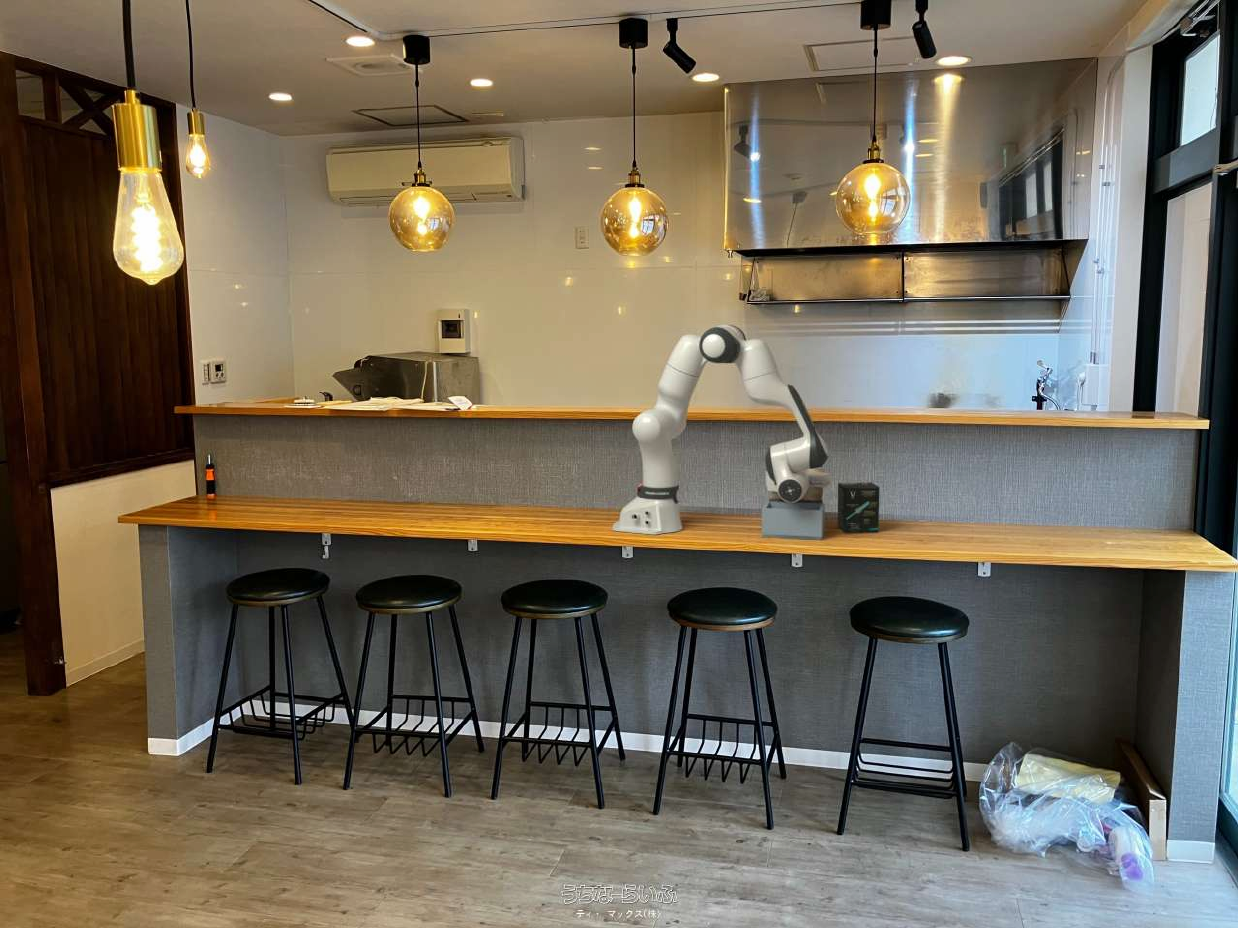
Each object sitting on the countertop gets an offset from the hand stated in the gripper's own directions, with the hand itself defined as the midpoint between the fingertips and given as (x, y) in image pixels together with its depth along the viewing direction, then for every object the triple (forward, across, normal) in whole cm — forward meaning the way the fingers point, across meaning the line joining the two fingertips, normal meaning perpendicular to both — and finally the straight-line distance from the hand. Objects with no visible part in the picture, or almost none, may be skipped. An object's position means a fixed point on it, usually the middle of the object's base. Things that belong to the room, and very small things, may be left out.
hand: (799, 475), depth 309 cm
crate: (-17, 0, +16) cm, 23 cm away
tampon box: (-6, -19, +16) cm, 26 cm away
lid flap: (-10, 0, +7) cm, 12 cm away
